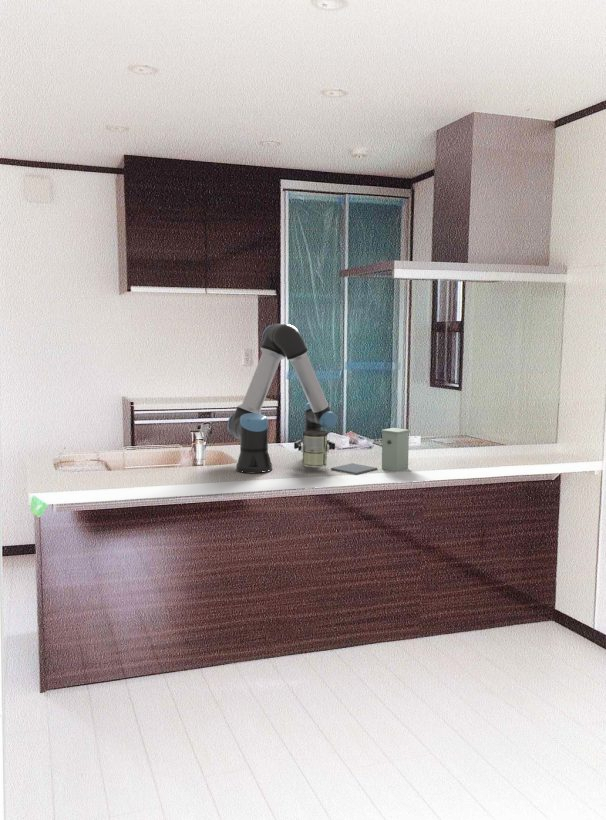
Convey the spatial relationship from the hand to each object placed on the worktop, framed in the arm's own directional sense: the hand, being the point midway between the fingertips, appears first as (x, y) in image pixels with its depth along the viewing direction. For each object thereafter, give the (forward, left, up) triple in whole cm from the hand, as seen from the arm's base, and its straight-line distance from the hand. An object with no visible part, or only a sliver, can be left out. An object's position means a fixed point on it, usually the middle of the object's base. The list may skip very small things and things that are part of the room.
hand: (315, 449), depth 303 cm
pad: (+17, -7, -10) cm, 21 cm away
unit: (+31, -18, -10) cm, 37 cm away
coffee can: (+3, +3, -8) cm, 9 cm away
